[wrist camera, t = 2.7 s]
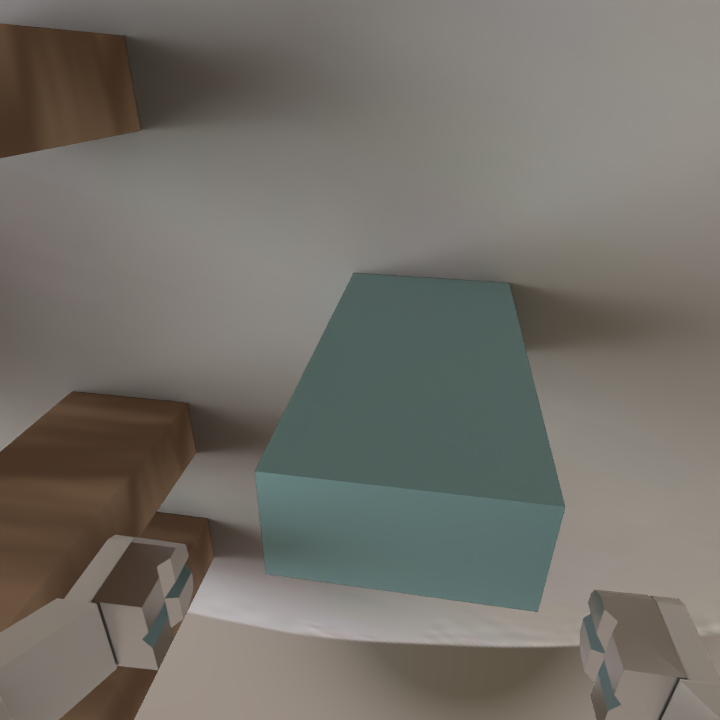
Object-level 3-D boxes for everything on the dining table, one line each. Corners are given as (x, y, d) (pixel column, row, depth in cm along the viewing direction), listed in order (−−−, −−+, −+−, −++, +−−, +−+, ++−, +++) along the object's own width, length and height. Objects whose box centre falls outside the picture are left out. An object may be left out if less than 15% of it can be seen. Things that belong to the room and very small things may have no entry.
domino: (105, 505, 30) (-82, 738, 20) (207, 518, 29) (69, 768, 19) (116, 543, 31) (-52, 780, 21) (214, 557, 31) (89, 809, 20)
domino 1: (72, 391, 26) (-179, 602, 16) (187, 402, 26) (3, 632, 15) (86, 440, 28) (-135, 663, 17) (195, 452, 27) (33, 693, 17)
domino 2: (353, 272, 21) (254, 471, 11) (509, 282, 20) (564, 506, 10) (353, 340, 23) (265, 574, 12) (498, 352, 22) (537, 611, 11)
